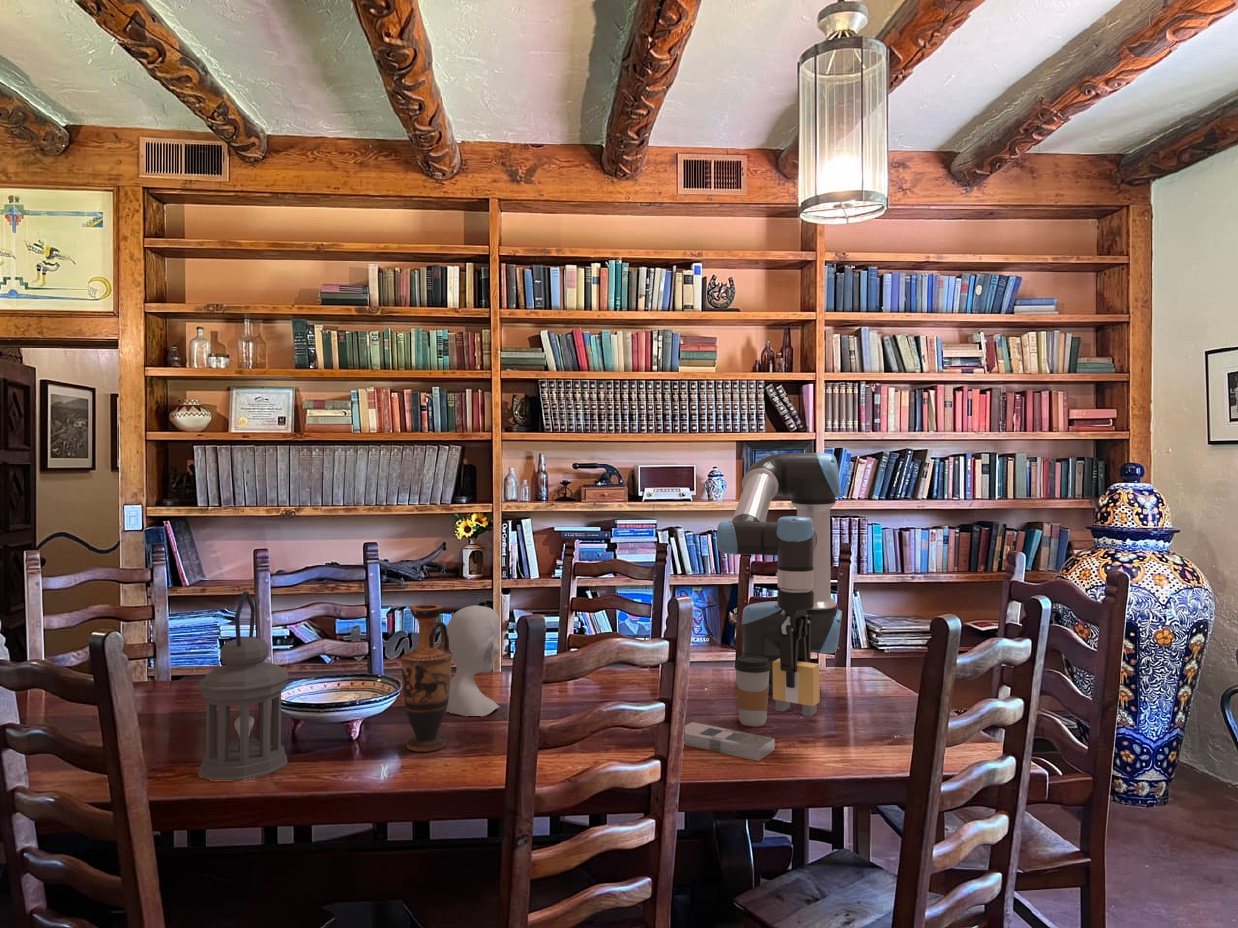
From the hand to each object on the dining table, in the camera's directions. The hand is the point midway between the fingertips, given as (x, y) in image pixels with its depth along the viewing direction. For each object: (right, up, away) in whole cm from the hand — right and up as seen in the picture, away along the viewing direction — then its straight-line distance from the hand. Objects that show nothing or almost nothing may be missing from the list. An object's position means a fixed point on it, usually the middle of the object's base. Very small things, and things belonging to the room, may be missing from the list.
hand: (796, 699), depth 170 cm
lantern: (-113, -11, -10) cm, 114 cm away
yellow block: (0, -2, 0) cm, 2 cm away
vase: (-79, -11, +2) cm, 80 cm away
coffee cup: (-6, -11, +19) cm, 23 cm away
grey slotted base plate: (-15, -11, +2) cm, 19 cm away
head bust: (-75, -12, +35) cm, 84 cm away
